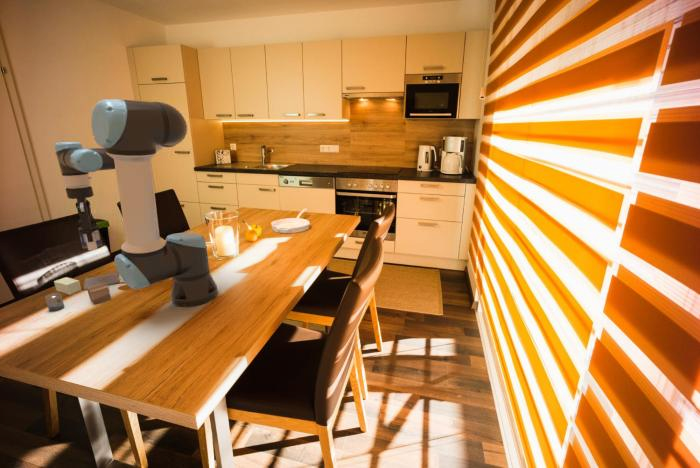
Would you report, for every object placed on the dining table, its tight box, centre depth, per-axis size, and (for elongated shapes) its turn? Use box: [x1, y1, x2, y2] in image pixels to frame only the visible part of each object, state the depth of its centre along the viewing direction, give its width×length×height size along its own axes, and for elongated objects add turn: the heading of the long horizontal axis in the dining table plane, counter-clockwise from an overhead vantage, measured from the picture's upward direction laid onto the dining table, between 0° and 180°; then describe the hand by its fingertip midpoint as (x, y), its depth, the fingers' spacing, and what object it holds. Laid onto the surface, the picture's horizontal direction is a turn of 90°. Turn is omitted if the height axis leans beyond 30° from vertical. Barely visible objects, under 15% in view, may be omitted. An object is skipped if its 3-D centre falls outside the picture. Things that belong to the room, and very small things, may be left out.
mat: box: [82, 271, 120, 291], centre depth 131 cm, size 11×11×1 cm
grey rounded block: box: [44, 292, 65, 313], centre depth 111 cm, size 4×4×5 cm
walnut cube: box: [86, 283, 112, 306], centre depth 117 cm, size 5×5×5 cm
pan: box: [270, 208, 311, 234], centre depth 209 cm, size 24×43×6 cm, turn 169°
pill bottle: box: [77, 217, 103, 251], centre depth 126 cm, size 6×6×11 cm
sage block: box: [53, 276, 83, 296], centre depth 124 cm, size 8×4×4 cm, turn 67°
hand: (93, 246), depth 127 cm, fingers closed on pill bottle, 6 cm apart
